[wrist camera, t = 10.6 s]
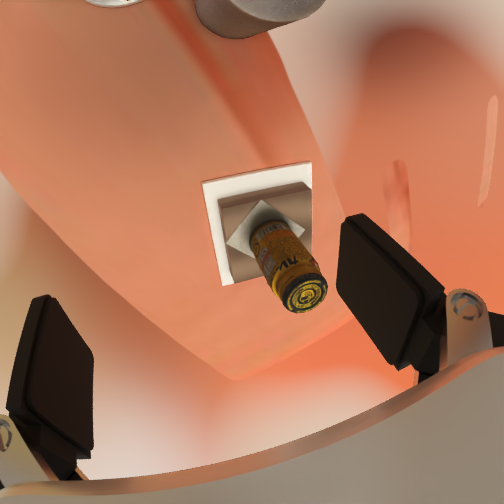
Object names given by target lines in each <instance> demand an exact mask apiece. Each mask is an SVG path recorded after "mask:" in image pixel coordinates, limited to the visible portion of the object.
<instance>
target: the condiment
mask: <svg viewBox="0 0 504 504" xmlns="http://www.w3.org/2000/svg"><path fill="white" fill-rule="evenodd" d="M304 231H305V229H304V228H302V227H301V226H299V225H298V224H296V223H295V222H294V221H292V220H291V219H289V218H288V217H286V216H285V215H283V214H282V213H280V212H279V211H277V210H276V209H274V208H273V207H272V206H270V205H268V204H267V203H265V202H264V201H262V200H260V201H259V203H258V204H257V205H256V206H255V207H254V208H253V209H252V211H251V212H250V213H249V214H248V215H247V217H246V218H245V219H244V220H243V222H242V223H241V224H240V225H239V227H238V228H237V230H236V231H235V232H234V233H233V234H232V236H231V237H230V239H229V240H228V241H227V242H226V244H228V245H230V246H231V247H234V248H235V249H237V250H239V251H241V252H243V253H245V254H247V255H249V256H251V257H253V258H255V259H256V261H257V263H258V265H259V268H260V270H261V271H262V273H263V274H264V276H265V278H266V280H267V283H268V285H269V286H270V287H271V289H272V291H273V292H274V294H275V295H276V296H277V297H279V298H280V300H281V301H282V302H283V305H284V307H286V309H287V310H289V311H291V312H294V313H304V312H307V311H310V310H312V309H313V308H315V307H317V306H318V305H319V304H320V303H321V302H322V301H323V300H324V298H325V296H326V294H327V288H328V285H327V282H326V280H325V278H324V277H323V276H322V274H321V272H320V268H319V265H318V263H317V262H316V261H315V259H314V258H313V257H312V255H311V254H310V253H309V251H308V250H307V249H306V247H305V246H304V245H303V244H302V242H301V241H300V240H299V237H300V235H301V234H302V233H303V232H304ZM247 236H248V237H247ZM248 239H249V240H248Z"/></svg>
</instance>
